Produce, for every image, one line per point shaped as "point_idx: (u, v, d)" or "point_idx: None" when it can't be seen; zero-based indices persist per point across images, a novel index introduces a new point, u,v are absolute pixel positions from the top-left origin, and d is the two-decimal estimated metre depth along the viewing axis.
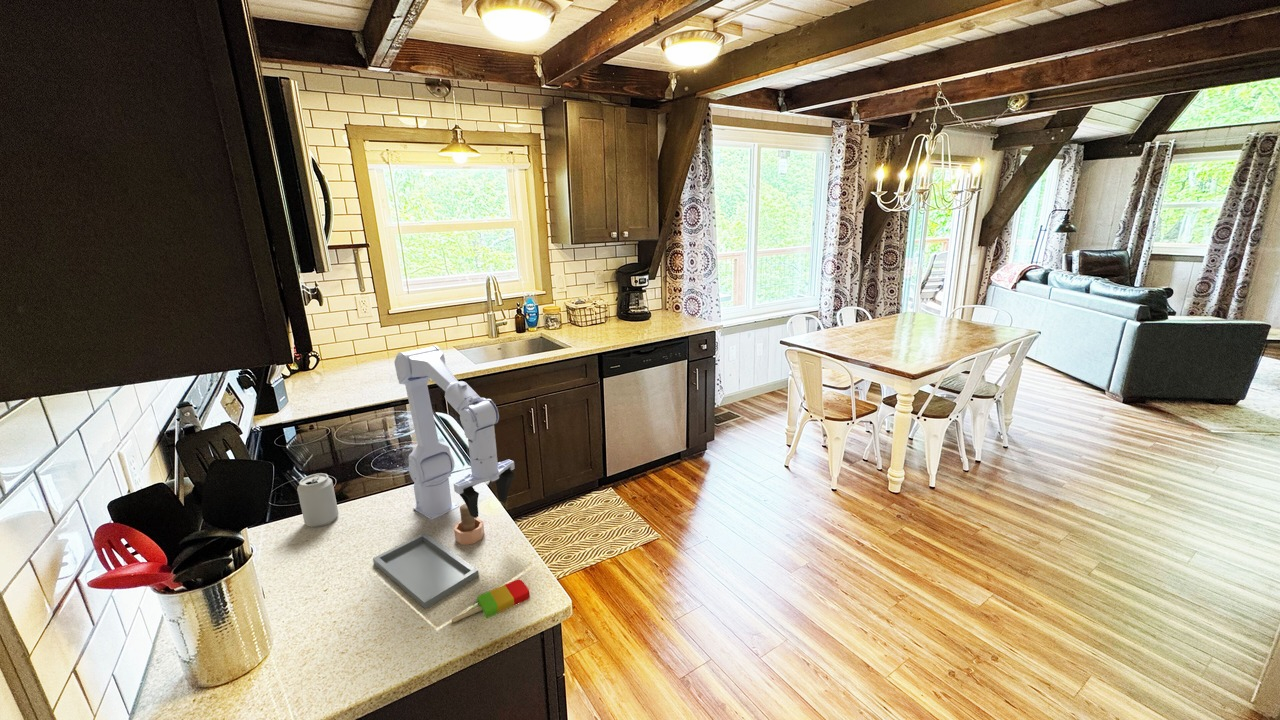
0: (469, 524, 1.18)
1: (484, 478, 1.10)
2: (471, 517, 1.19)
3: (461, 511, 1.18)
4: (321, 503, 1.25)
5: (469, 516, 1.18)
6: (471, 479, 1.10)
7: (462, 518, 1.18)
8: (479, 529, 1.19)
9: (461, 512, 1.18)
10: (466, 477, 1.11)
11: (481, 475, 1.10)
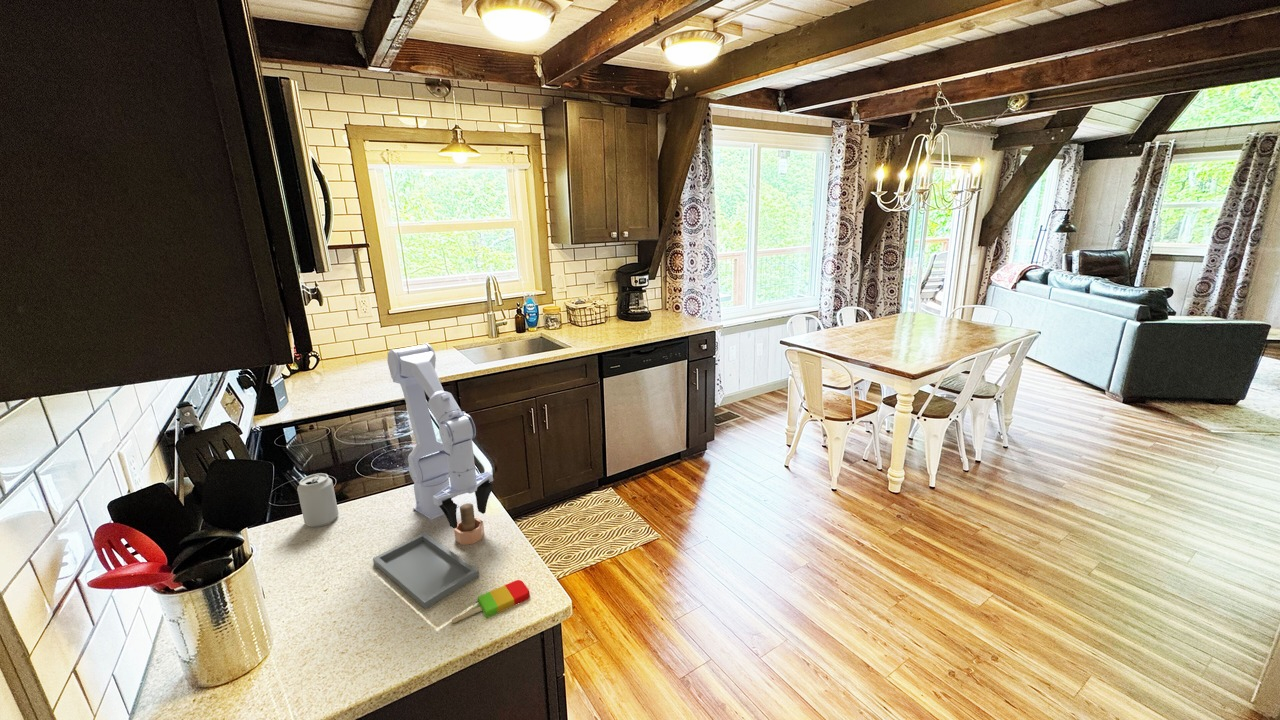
0: (469, 524, 1.18)
1: (463, 490, 1.15)
2: (471, 517, 1.19)
3: (461, 511, 1.18)
4: (321, 503, 1.25)
5: (469, 516, 1.18)
6: (450, 491, 1.14)
7: (462, 518, 1.18)
8: (479, 529, 1.19)
9: (461, 512, 1.18)
10: (445, 489, 1.15)
11: (459, 487, 1.14)
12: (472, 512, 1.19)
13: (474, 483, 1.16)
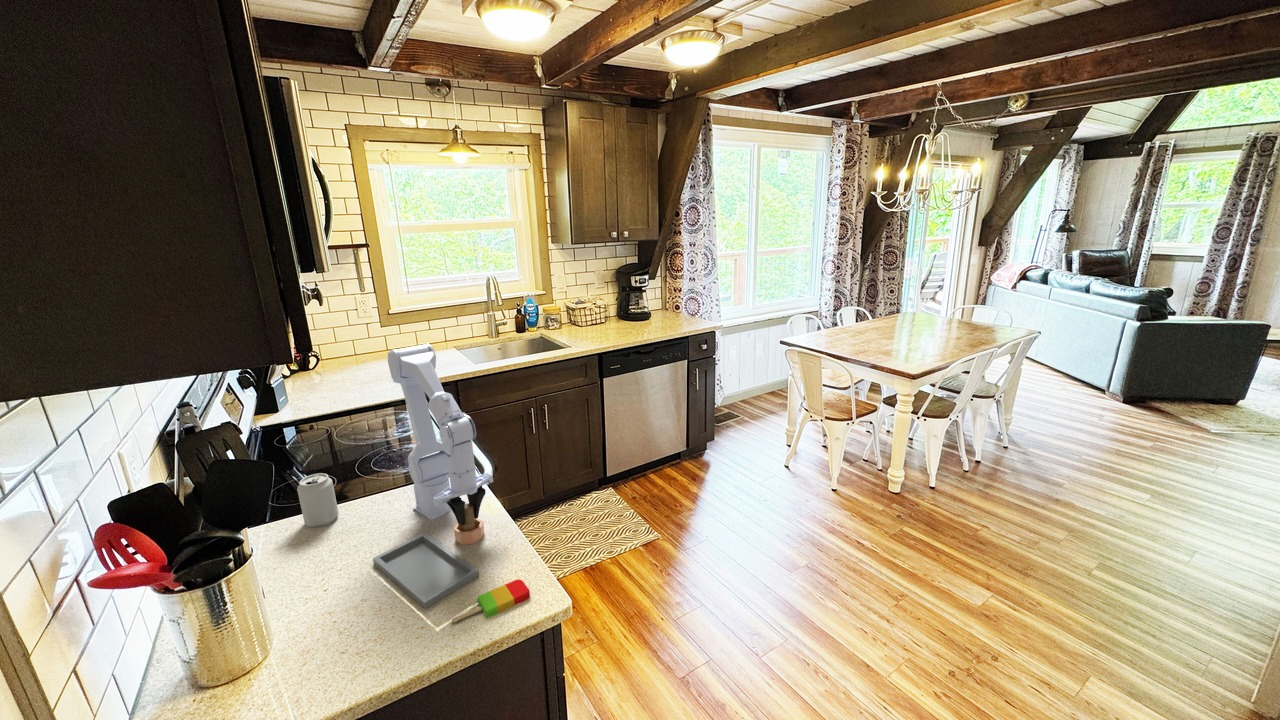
0: (469, 524, 1.18)
1: (463, 491, 1.15)
2: (471, 517, 1.19)
3: None
4: (321, 503, 1.25)
5: (469, 516, 1.18)
6: (450, 492, 1.14)
7: None
8: (479, 529, 1.19)
9: None
10: (445, 490, 1.15)
11: (459, 488, 1.14)
12: (472, 512, 1.19)
13: (474, 484, 1.16)
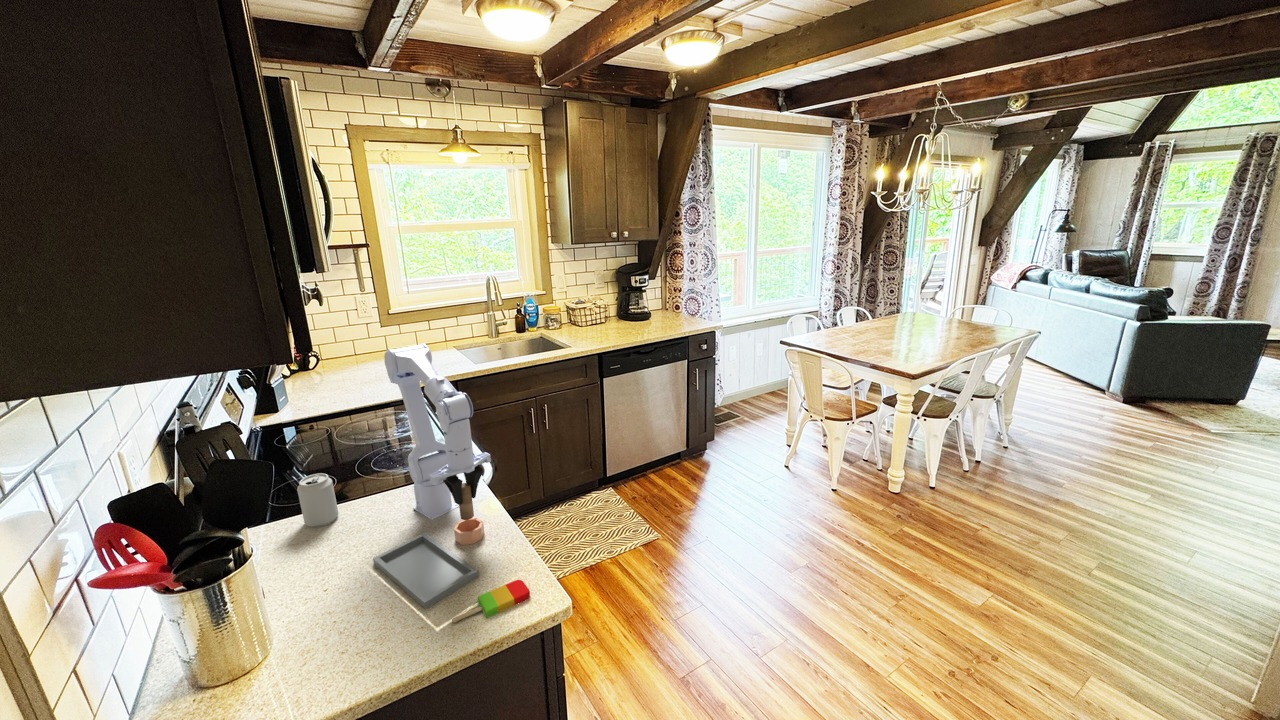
0: (466, 504, 1.17)
1: (460, 470, 1.13)
2: (468, 496, 1.17)
3: None
4: (321, 503, 1.25)
5: (466, 495, 1.16)
6: (447, 471, 1.13)
7: None
8: (479, 529, 1.19)
9: None
10: (442, 469, 1.14)
11: (456, 467, 1.13)
12: (469, 491, 1.17)
13: (471, 463, 1.15)
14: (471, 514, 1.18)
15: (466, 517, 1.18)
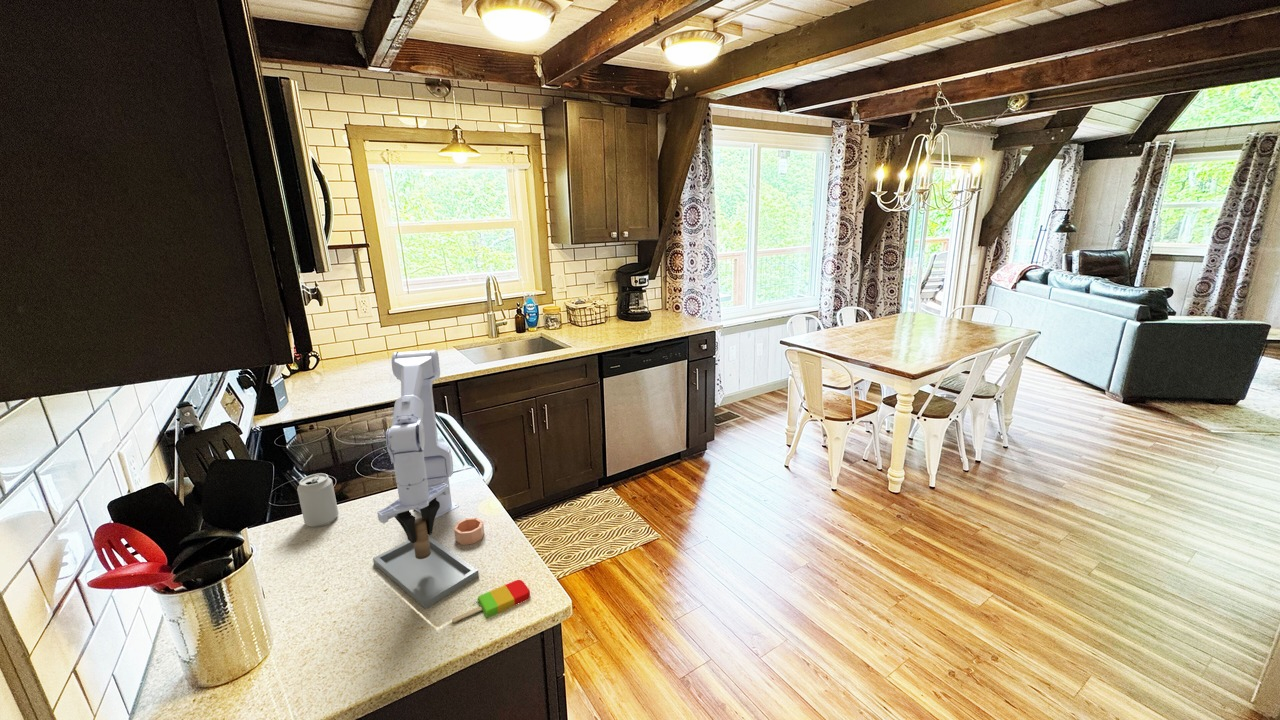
0: (421, 541, 1.06)
1: (412, 505, 1.02)
2: (423, 533, 1.06)
3: None
4: (321, 503, 1.25)
5: (420, 533, 1.05)
6: (398, 506, 1.02)
7: None
8: (479, 529, 1.19)
9: None
10: (393, 504, 1.03)
11: (408, 502, 1.02)
12: (425, 528, 1.06)
13: (426, 497, 1.04)
14: (427, 552, 1.07)
15: (421, 556, 1.07)
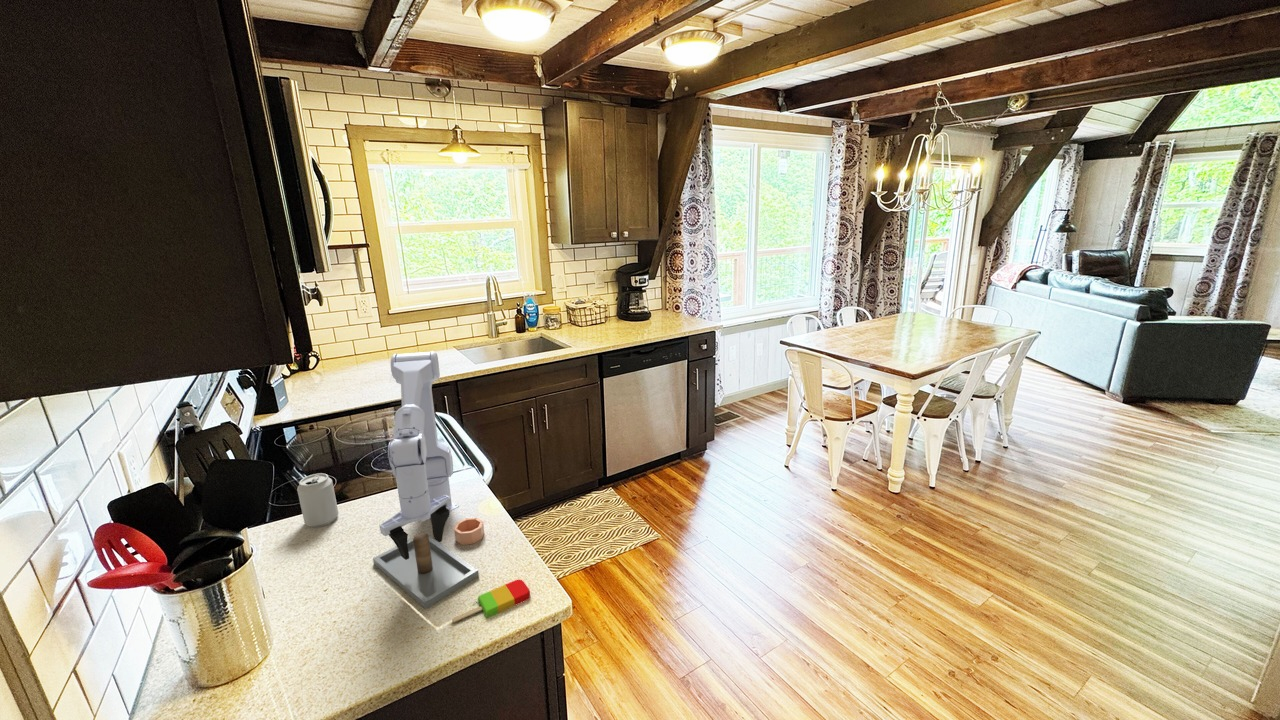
0: (423, 557, 1.07)
1: (414, 518, 1.03)
2: (426, 549, 1.07)
3: (414, 542, 1.06)
4: (321, 503, 1.25)
5: (423, 548, 1.06)
6: (400, 519, 1.03)
7: (415, 550, 1.07)
8: (479, 529, 1.19)
9: (414, 544, 1.06)
10: (395, 516, 1.04)
11: (410, 514, 1.02)
12: (427, 543, 1.07)
13: (427, 509, 1.05)
14: (429, 567, 1.08)
15: (423, 571, 1.08)
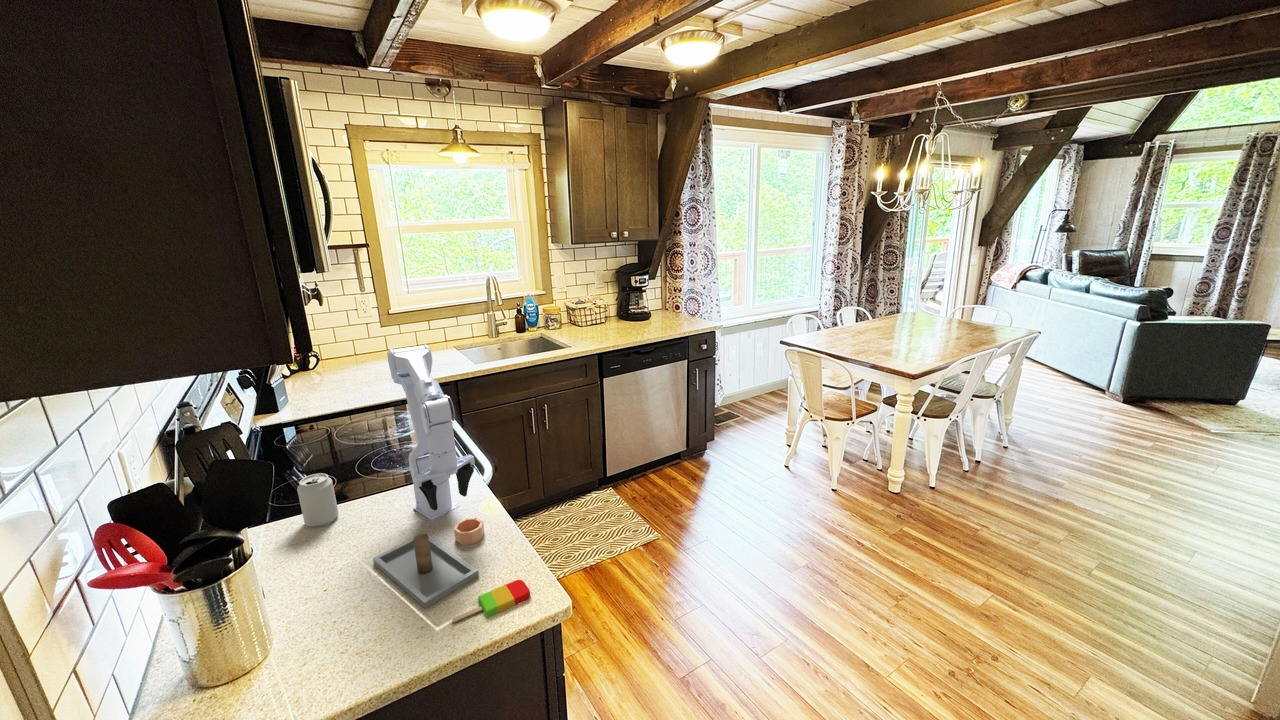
0: (423, 557, 1.07)
1: (443, 472, 1.14)
2: (426, 549, 1.07)
3: (414, 543, 1.06)
4: (321, 503, 1.25)
5: (423, 548, 1.06)
6: (430, 473, 1.14)
7: (415, 550, 1.06)
8: (479, 529, 1.19)
9: (414, 544, 1.06)
10: (425, 471, 1.15)
11: (439, 469, 1.14)
12: (427, 543, 1.07)
13: (454, 465, 1.16)
14: (429, 568, 1.08)
15: (423, 571, 1.08)
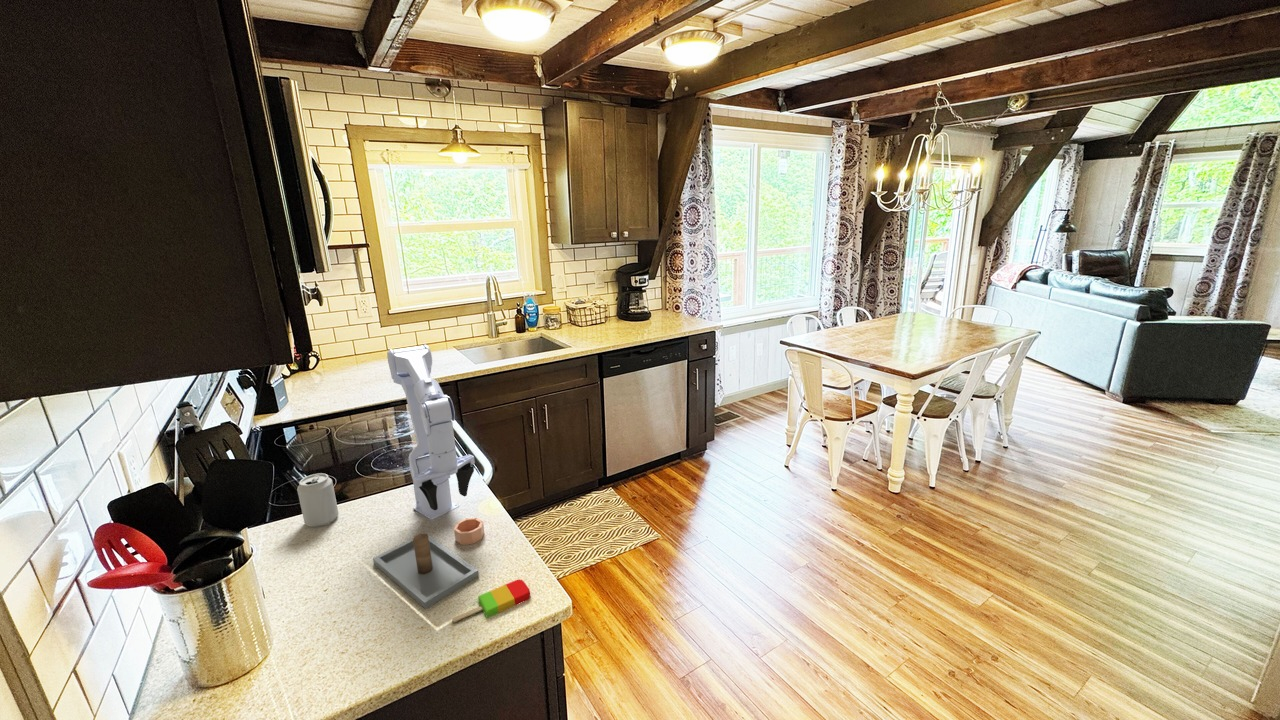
0: (423, 557, 1.07)
1: (443, 472, 1.14)
2: (426, 549, 1.07)
3: (414, 543, 1.06)
4: (321, 503, 1.25)
5: (423, 548, 1.06)
6: (430, 473, 1.14)
7: (415, 550, 1.06)
8: (479, 529, 1.19)
9: (414, 544, 1.06)
10: (425, 471, 1.15)
11: (439, 469, 1.14)
12: (427, 543, 1.07)
13: (455, 465, 1.16)
14: (429, 568, 1.08)
15: (423, 571, 1.08)
